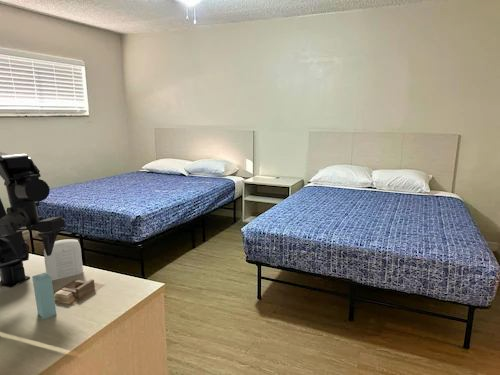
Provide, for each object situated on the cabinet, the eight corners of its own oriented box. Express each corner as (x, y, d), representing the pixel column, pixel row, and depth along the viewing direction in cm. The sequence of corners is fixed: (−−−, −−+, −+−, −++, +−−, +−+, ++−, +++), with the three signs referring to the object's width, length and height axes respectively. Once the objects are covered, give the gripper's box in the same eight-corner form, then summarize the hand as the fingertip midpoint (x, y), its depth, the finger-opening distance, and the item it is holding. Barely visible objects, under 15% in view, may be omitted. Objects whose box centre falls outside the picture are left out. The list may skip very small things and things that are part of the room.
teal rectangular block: (37, 314, 89) (32, 276, 87) (50, 309, 91) (45, 272, 89) (43, 319, 87) (38, 281, 84) (56, 314, 89) (51, 277, 87)
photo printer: (82, 270, 115) (78, 235, 112) (84, 275, 111) (80, 239, 109) (46, 278, 109) (41, 241, 107) (47, 284, 106) (42, 246, 103)
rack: (42, 301, 96) (40, 289, 95) (76, 281, 107) (74, 270, 106) (73, 308, 93) (72, 295, 92) (105, 287, 104) (104, 275, 103)
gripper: (-36, 210, 87) (-21, 269, 89) (28, 204, 84) (41, 266, 86) (3, 201, 98) (15, 254, 100) (60, 196, 94) (72, 250, 97)
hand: (34, 256), depth 95 cm, fingers open, 9 cm apart
